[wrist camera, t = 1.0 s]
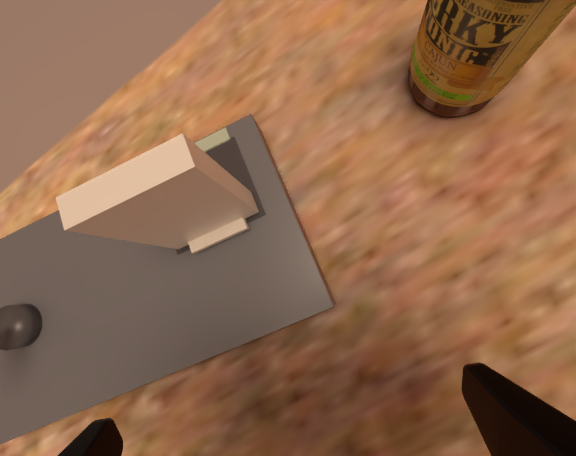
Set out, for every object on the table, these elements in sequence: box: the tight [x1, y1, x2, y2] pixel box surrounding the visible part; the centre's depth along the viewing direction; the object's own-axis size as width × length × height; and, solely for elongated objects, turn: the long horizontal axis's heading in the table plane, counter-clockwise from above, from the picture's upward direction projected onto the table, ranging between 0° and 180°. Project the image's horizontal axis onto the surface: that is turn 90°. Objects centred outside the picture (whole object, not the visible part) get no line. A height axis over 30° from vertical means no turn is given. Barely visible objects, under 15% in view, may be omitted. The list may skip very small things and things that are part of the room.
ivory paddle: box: [56, 133, 259, 254], centre depth 17 cm, size 3×6×9 cm, turn 113°
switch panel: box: [0, 114, 336, 444], centre depth 23 cm, size 14×26×4 cm, turn 113°
